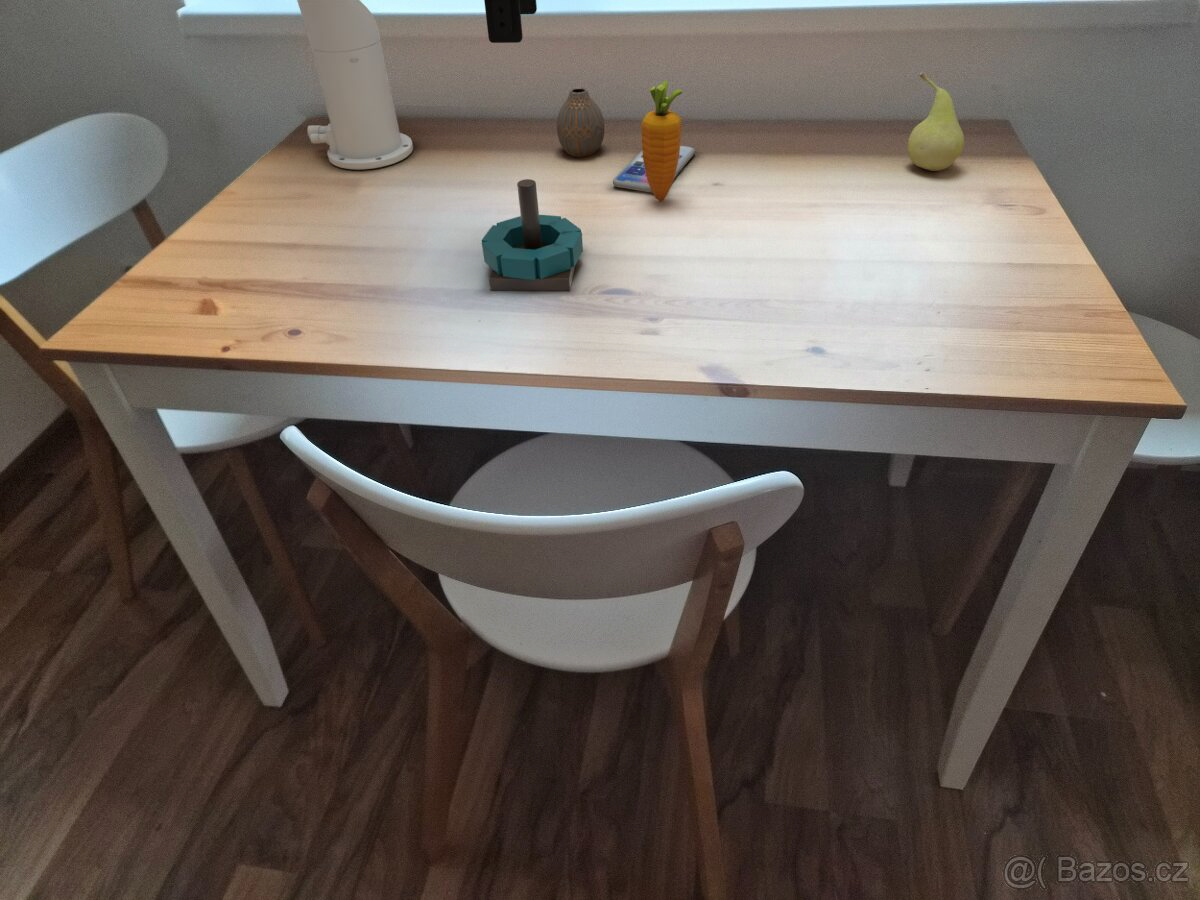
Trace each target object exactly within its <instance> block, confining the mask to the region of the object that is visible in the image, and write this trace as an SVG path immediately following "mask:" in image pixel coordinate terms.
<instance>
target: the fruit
mask: <svg viewBox="0 0 1200 900" xmlns="http://www.w3.org/2000/svg"><path fill="white" fill-rule="evenodd" d="M918 76H919V77H920V78H921V79H922V80H923V81H924V82H926V83H928V84H929V85H930V86H931V87H932V88H933V90H934V92H935V97H934V101H933V104H932V107H931V109H930V111H929V114H928V116H927V117H926V118H925V119H924V120H922V121H921V122H920V123H918V124H916V126H915V127H914V128H913V129H912V131H911V133H910V135H909V137H908V139H907V144H906V145H907V146H906V150H907V155H908V157H909V159H910V161H911V162H912V164H914V165H915V166H917V167H918V168H921V170H923V169H924V170H928V171H930V172H939V171H943V170H945V169H947V168H948V167H950V166H951V165H953V164H954V163H955V162H956V161H957V159H958V158H959V157H960V156H961V154H962V151H963V149H964V144H965V136H964V132H963V130H962V128H961V125H960V124H959V120H958V117H957V115H956V111H955V106H954V102H953V100H952V97H951V95H950V94H949V92H948V91H947V90H946V89H945V88H943V87H939V86H938V85H937V84H936V83H934V82H933V80H931V79H930V78H929V77H928V76H927V75H926V74H925V73H924V72H923V71H920V73H919V74H918Z"/></svg>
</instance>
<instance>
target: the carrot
mask: <svg viewBox="0 0 1200 900" xmlns="http://www.w3.org/2000/svg"><path fill="white" fill-rule="evenodd" d="M668 86H669V81H668V80H663V81H662V82H661V84H659V85H658V86H657V87H656V86H653V87H651V88H650V90H649V93H650V96H651V97H652V100H653V102H654V105H655V110H652V111H648V113H646V114H645V116H644V118H643V119H642V121H641V127H640V129H641V151H642V152H643V161H644V167H645V172H646V176H647V180H648V183H649V186H650V188H651V190H652V192H653V193H652V192H651V193H652V194H653V196H654V198H655V200H656V201H657V202H659V203H663V202H664V201H665V199H666V198H667V196H668V194H669V192H670V190H671V188H672V186H673V182H674V180H675V178H676V176H675V173H676V169H677V165H678V159H679V154H680V145H681V142H682V141H681V139H682V118H681V116H680V115H679V114H678V113H676V112H674V111H672V110H670V109H669V108H670V106H671V105H672V103H673V101H674V100H675V99H676V98H677V97H678V96H680V95H682V94H683V91H682V90H681V89H680V88H678V89H675V90H674V91H673V92H672V93H671V94H670V95H669V97H668V96H667V93H668Z"/></svg>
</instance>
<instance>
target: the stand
mask: <svg viewBox="0 0 1200 900" xmlns="http://www.w3.org/2000/svg"><path fill="white" fill-rule="evenodd" d="M516 186H517V187H516V188H517V195H518V203H519V212H520V216H521V222H522V231H523V240H524V244H523V245H520V246H517V247H513V248H520V249H532V250H535V249H539V248H542V247H545V246H548V245H551V244H549V243H542V241H541V231H540V221H539V215H540V211H539V201H538V193H537V191H538V190H537V182H536V181H535V180H534V179H531V178H526V179H521V180H519V181H517V183H516ZM575 268H576V266H575V267H571V269H570V270H567V271H564V272H561V273H558V274H555V275H552V276H549V277H546V278H543V279H540V278H539V277H538V276H537V278H536V280H531V279H520V278H509V277H503V274H501V275H498V274H497V273H496V272H495V271H494V270H493V269H492V268H491V271H490V274H489V277H488V282H489V283H488V284H489V289H490V290H489V291H555V292H556V291H557V292H559V291H561V292H562V291H563V292H564V291H565V292H566V291H569V292H570V291H571V287H572V283H573V279H574V272H575Z"/></svg>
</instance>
